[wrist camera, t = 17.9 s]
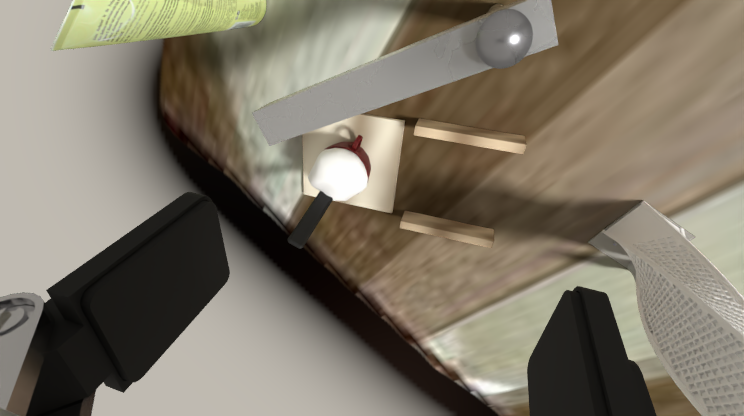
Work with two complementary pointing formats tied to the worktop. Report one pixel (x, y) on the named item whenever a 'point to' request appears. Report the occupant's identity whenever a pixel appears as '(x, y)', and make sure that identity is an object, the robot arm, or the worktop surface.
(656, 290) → the skyscraper
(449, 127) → the holder
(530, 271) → the worktop surface
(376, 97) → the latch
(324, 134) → the pad
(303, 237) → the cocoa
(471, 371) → the worktop surface
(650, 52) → the worktop surface
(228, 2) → the tube
